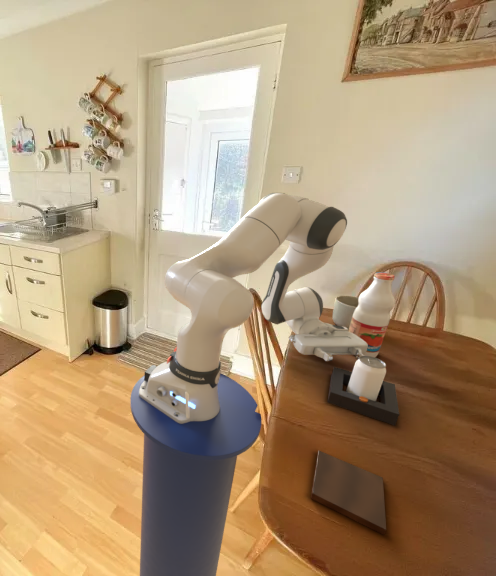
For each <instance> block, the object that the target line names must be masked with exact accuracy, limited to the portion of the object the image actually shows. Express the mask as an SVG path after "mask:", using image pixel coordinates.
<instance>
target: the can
mask: <svg viewBox="0 0 496 576" xmlns="http://www.w3.org/2000/svg"><path fill="white" fill-rule="evenodd" d="M386 367H387V363H386V362H385V361H384V360H382V359H379V358H377V357H371V356H360V357H359V359H358V360H357V359H356V361H355V363H354V365H353V368H352V371H351V372H352V374H351V377H350V381H349V384H348V386H347V387H346V390H345V392H348V393H351V394H355V395H358V396H362V397H365V398H367V399H370V400H373V401H376V402H377V398H378V396H379V395H378V393H379V391H380V388H381V385H382V382H383V381H385V380H384V379H385V377H386V374H387V368H386Z"/></svg>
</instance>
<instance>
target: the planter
mask: <svg viewBox="0 0 496 576" xmlns="http://www.w3.org/2000/svg"><path fill="white" fill-rule="evenodd" d="M358 299H359V296H354V295H338V296H336V297H335V299H334V303H333V309H332V321H333V323H334V324H335V325H336V326H343V327H346V328H347V329H348V330H349V327H350V324H351V320H352V317H353V313H354V311H355V309H356V308H357V307H358V305H359V303H358Z"/></svg>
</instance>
